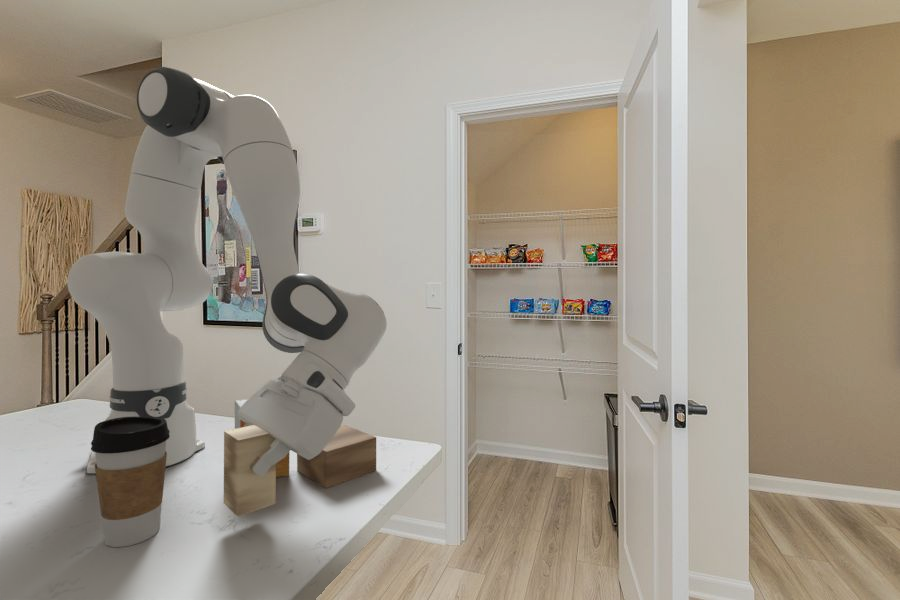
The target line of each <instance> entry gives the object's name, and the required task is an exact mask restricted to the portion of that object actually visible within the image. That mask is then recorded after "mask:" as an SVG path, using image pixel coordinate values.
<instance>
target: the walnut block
mask: <svg viewBox="0 0 900 600" xmlns="http://www.w3.org/2000/svg"><path fill="white" fill-rule="evenodd" d="M296 465H297V466H296V469H297V470H296V471H297V472H299V473H301V474H302V475H303V476H305V477H307V478H308V479H310V480H312V481H313V482H316V483H317V484H319V485H320V486H322V487H323V488H325V489H328V488H330V487H334V486H336V485H339V484H342V483H345V482H347V481H350V480H353V479H356V478H359V477H361V476H364V475H367V474H370V473H373V472H375V471H377V436H374V435H373V434H369V433H367V432H364V431H361V430H359V429H356V428H353V427H351V426H348V425H346V424H345V425H341V426H340V427H339V429H338V430H337V432H336V433H335V435H334V436H333V437H332V439H331V440H330V441H329V443H328V444H327V445H326V447H325V448H324V449H323V450H322V452H321V453H320V454H319V455H317V456H315V457H314V458H312V459H310V460H307V459H306V458H304V457H302V456H300V455H299V454H297V453H296Z"/></svg>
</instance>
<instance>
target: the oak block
mask: <svg viewBox="0 0 900 600" xmlns="http://www.w3.org/2000/svg"><path fill="white" fill-rule="evenodd" d="M274 440H275V438H274V437H272V436H271V435H270V433H268V432H266V431H265V430H263V429H261V428H259V427H257V426H256V425H251V426H246V427H242V428H237V429H235V428H233V429H227V430H224V431H223V504H224V505H225V506H226V508H228V509H229V510H230V511H231V512H232V513H233V514H234V515H235V516H236V517H237V518H238V517H241V516H244V515H247V514H250V513H253V512H256V511H258V510H261V509H265V508H267V507H270V506H272V505H276V492H277V491H276V489H277V487H276V483H277V481H276V479H277V477H276V464H274V465H273V466H271V467H270V468H269V470H268V471H267V472H266V473H265V475H264V476H259V475H257V474H256V473H254V472H253V471H252V470H251V469H250V465H251V464H252V463H253V462H254V460H255V459H256V457H257V456H258V457H261V456H262V455H264V454H265V453H266V452H267V451H268V450H269V449H271V447H270V445H271V444H272V443H273V442H274Z"/></svg>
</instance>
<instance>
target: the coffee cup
mask: <svg viewBox="0 0 900 600" xmlns="http://www.w3.org/2000/svg"><path fill="white" fill-rule="evenodd" d="M169 433H170V431H169V430H168V427H167V422H166V420H165V419H162V418H156V417H120V418H115V419H110V420H106V421H105V420H103V421H100V422H99V423H97V424H96V425H94V428H93V435H92V436H93V437H92V439H91V442H90V445H91V447H90V451H91V452H92V451H93V452H95V455H96V464H95V472H96V473H95V478H96V486H97V493H98V501H99V507H100V515H101V518H102V519H101V520H102V529H103V531H102V532H103V537H104V542H105V545H106V546H107V547H111V548H125V547H129V546H133V545H137V544H140V543H142V542H145V541H146V540H148V539H150V538H153V537H154V536H155V535H157V534H158V532H159V530H160V528H161V518H162V517H161V515H162V503H163V495H164V486H165V475H166V467H167V466H166V457H167V452H166V451H165V448H166V440H167V439H169V437H170V435H169Z"/></svg>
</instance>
